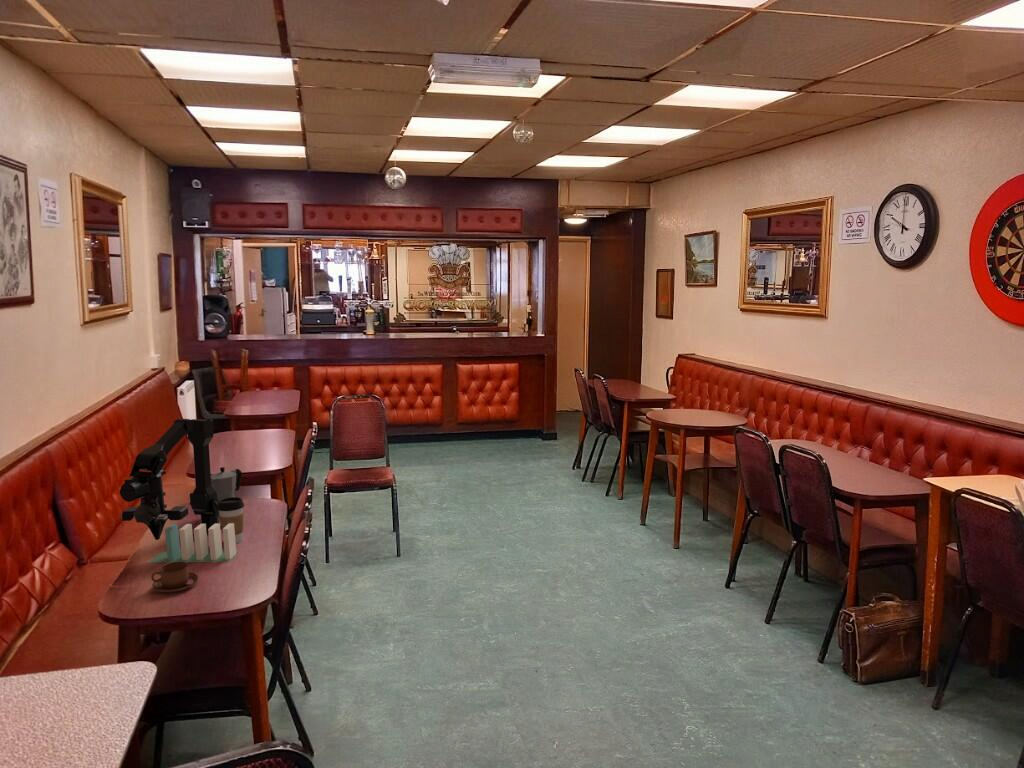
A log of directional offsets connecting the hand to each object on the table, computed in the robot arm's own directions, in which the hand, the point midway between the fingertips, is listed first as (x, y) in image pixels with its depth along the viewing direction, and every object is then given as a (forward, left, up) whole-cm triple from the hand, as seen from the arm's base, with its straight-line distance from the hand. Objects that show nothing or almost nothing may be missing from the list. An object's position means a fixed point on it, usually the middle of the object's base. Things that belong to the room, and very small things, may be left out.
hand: (157, 539), depth 230 cm
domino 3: (0, +14, -6) cm, 15 cm away
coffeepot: (-43, +5, -7) cm, 44 cm away
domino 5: (0, +23, -6) cm, 23 cm away
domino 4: (0, +18, -6) cm, 19 cm away
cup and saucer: (+20, +15, -7) cm, 26 cm away
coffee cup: (-13, +18, -7) cm, 24 cm away
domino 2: (0, +9, -6) cm, 11 cm away
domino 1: (0, +5, -6) cm, 8 cm away
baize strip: (0, +11, -6) cm, 13 cm away
